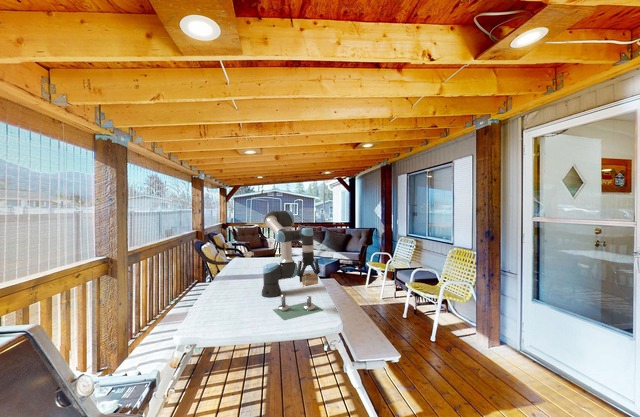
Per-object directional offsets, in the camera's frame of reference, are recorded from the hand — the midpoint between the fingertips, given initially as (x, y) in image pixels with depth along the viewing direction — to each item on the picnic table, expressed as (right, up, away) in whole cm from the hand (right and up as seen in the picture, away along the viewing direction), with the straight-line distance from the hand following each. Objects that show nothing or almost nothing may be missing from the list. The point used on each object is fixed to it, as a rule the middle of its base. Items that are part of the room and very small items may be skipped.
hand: (308, 285), depth 191 cm
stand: (-17, -16, 0) cm, 23 cm away
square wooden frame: (0, +1, 0) cm, 1 cm away
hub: (0, -16, +1) cm, 16 cm away
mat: (-7, -16, -1) cm, 18 cm away
